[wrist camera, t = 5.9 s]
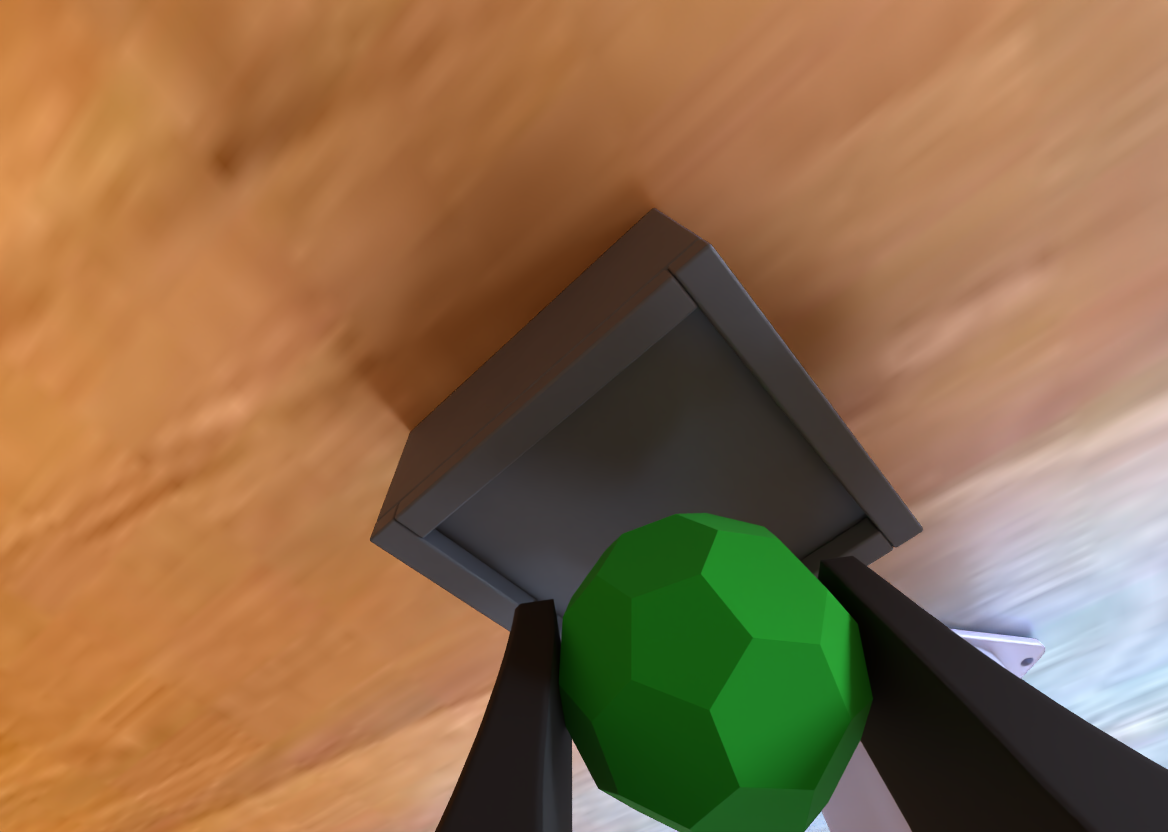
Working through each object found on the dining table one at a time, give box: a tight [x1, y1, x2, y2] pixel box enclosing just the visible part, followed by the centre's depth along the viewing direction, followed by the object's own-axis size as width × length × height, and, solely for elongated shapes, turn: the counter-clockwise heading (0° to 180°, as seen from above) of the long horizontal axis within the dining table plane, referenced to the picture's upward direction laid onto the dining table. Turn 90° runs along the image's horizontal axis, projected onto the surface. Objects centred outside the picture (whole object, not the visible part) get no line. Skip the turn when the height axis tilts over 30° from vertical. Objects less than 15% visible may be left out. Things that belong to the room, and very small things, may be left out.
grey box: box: [370, 208, 923, 638], centre depth 14 cm, size 9×9×5 cm
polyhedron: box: [559, 513, 873, 832], centre depth 9 cm, size 5×5×5 cm
